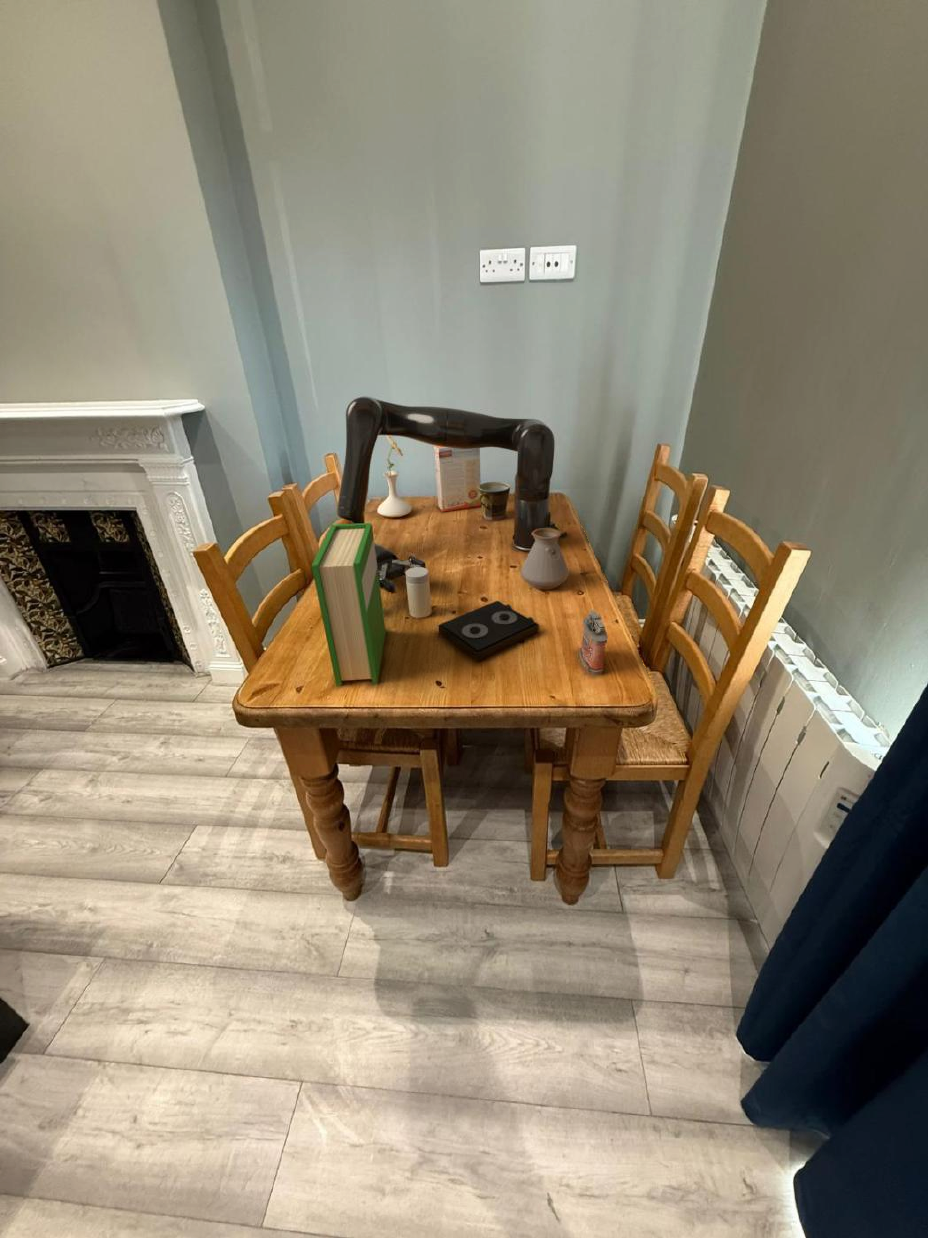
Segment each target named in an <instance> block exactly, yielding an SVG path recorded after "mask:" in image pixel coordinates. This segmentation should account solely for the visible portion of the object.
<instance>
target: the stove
mask: <svg viewBox="0 0 928 1238" xmlns="http://www.w3.org/2000/svg"><path fill="white" fill-rule="evenodd" d="M437 627H438V628H437V629H438V630H437V631H438V635H439V636H441V637H442V638H443V639H445V640H446V641H447V642H449V643H450V644H452V645H453V646H454V647H455V648H457V649H458V650H459V651H461V652H463V653H464V654H465V655H467V656H468V657H469V658H470V659H472V660H473V661H474V662H475V663H480V662H482V661H484V660H486V659H488V658H491V657H492V656H495V655H496V654H498V653H501V652H503V651H505V650H507V649H509V648H511V647H513V646H515V645H517V644H519V643H521V642H524V641H525V640H528V639H529V638H531V637H533V636H535V635H537V634H539V623H537V622H535V620H534V618H533V617H532V616H529V617H527V616H525V615H523V614H521V613H520V612H518V611H516V610H515V609H513V607H512V606H511V604H509V603H508V604H505V603H502V602H501V601H499V600H495V601H493V602H490V603H488V604H486V605H483V606H481V607H479V608H476V609H473V610H471V611H469V612H466V613H464V614H461V615H459V616H457V617H454V618H452V619H450V620H447V621H445V622H442V623H440V624H438V625H437Z"/></svg>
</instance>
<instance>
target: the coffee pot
mask: <svg viewBox="0 0 928 1238" xmlns="http://www.w3.org/2000/svg"><path fill="white" fill-rule="evenodd" d="M558 530H559V529H558ZM558 530H556V529H553V528H540V529H536V530H534V531H533V532H532V535H533V537H534V539H535V542H534V544H533V546H532V548H531V550H530V552H528V555H527V556H526V558H525V560H524V562H523V564H522V566H521V567H520V575H521V578H522V579H523V580H524V581H525V582H526V583H527V584H528V585H529V586H530V587H532V588H534V589H537V590H553V589H556V588H557V587H559V586H560V585H561V584H563V583H564V582H565V581H566V580H567V578H568V577H569V575H570V574H569V568H568V566H567V563H566V561H565V560H566V559H565V558H564V554H563V552H562V550H561V547H560V544H559V538H561V537H560V536H561V534H562V532H561V531H560V530H559V531H558Z"/></svg>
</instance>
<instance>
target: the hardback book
mask: <svg viewBox="0 0 928 1238" xmlns="http://www.w3.org/2000/svg"><path fill="white" fill-rule="evenodd" d="M373 531H374V530H373V523H372V522H365V523H360V524H351V523H342V524H331V525H330V527H329V529H328V530H327V532H328V533H327V532H326V534H327V535H326V534H325V537H324V539H323V541H322V543H321V545H320V547H319V550H318V551H317V553H316V555H315V557H314V560H313V561H312V564H311V569H312V570H311V571H312V575H313V580H314V585H315V589H316V594H317V599H318V603H319V608H320V613H321V618H322V622H323V628H324V633H325V637H326V638H325V639H326V642H327V647H328V652H329V657H330V661H331V666H332V667H331V668H332V672H333V676H334V681H335V686H336V687H341V686H343V681H357V680H371V684H372V685H377V684H378V683H379V676H380V670H381V663H382V658H383V651H384V645H385V639H386V632H387V630H386V621H385V615H384V608H383V607H384V606H383V599H382V592H381V588H380V583H379V576H378V568H377V561H376V553H375V545H374V543H375V539H374V532H373Z"/></svg>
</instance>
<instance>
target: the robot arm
mask: <svg viewBox="0 0 928 1238" xmlns="http://www.w3.org/2000/svg"><path fill="white" fill-rule="evenodd" d="M345 434H346V435H345V436H346V438H345V439H346V440H345V442H346V443H345V455H344V457H345V458H344V464H343V471H342V476H341V482H340V487H339V493H338V500H337V505H336V506H337V508H336V514H337V516H338V517H339V518H340V519H343V520H345V521H348V522H350V524H360V523H366V519H365V513H366V508H367V501H368V494H369V487H370V486H369V485H370V472H371V471H370V470H371V463H372V457H373V454H374V449H375V445H376V443H377V440H378V438H379V436H387V435H388V436H391V437H403V438H407V439H410V440H414V441H418V442H421V443H423V444H428V445H431V446H434V445H435V446H440V447H447V448H456V449H475V448H480V449H482V448H499V449H505V450H508V451H509V450H510V451H513V452H516V453H517V460H516V462H517V464H516V473H515V476H514V501H513V502H514V503H513V504H514V505H513V506H514V507H513V509H514V511H513V514H514V515H513V534H512V541H513V542H512V546H513V548H515V549H516V550H519V551H522V552H528V553H529V552H530V550H531V548H532V546H533V544H534V542H535V539H534V537H533V535H532V532H533V531H534V530H536V529H540V528H553V529H556V530H558V531H560V529H559V528H558V527H557V526H556V523H555V522H552V521H551V518H552V517H551V515H552V512H551V511H550V510H549V507H550V506H549V505H550V490H551V489H550V488H551V479H552V476H553V471H554V470H553V469H554V461H555V447H556V445H555V444H556V443H555V434H554V433H553V430H552V429H551V428H550V427H549V426H548V425H547V424H546V422H543V421H542V420H540V419H536V418H513V417H512V418H510V417H509V418H507V417H497V416H493V415H488V414H484V413H480V412H475V411H470V410H464V409H459V408H452V407H443V406H423V405H422V406H421V405H419V406H416V405H415V406H413V405H412V406H411V405H409V406H408V405H403V404H397V403H392V402H389V401H384V400H380V399H377V398H374V397H371V396H366V395H365V396H358V397H356V398H354V399H353V400H351V401H350V402H349V404H348V405H347V407H346V409H345ZM327 533H328V531H326V534H325V536H326V535H327ZM566 535H568V532H567V531H564V532H561V536H560V537H559V538H563V537H564V536H566ZM374 545H375V553H376V561H377V568H378V576H379V583H380V590H384V591H386V592H387V593H390V594H392V595H393V594H396V593H397V591H396V590H397V589H396V584H395V583H393V580H396V579H398V578H406V571H407V570H408V569H410V568H414V567H423V568H426V561H423V560H421V559H420V558H417V557H415V556H413V555H409V556H408V559H407V560H405V561H404V560H403V559H399V558H398V556H397V555H396V554H395V553H394V552H393V551H391V550H389V549H388V548H386V547H384V546H383V545H381V544H380V543H377V542H374ZM426 569H427V568H426Z"/></svg>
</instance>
